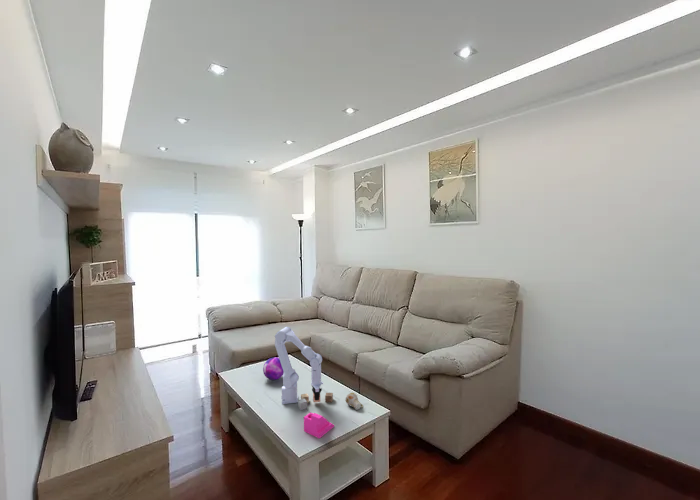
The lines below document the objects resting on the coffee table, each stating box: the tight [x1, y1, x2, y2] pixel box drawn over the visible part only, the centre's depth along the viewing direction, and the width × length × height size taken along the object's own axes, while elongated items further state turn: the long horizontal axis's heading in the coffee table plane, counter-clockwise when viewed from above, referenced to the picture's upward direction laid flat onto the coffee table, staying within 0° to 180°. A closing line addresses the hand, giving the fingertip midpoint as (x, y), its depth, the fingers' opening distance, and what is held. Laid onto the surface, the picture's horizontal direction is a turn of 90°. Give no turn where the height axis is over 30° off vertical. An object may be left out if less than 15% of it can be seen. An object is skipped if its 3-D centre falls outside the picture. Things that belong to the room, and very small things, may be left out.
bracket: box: [303, 411, 335, 439], centre depth 167 cm, size 12×10×10 cm
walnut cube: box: [324, 392, 334, 403], centre depth 195 cm, size 4×4×4 cm
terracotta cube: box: [312, 392, 321, 403], centre depth 191 cm, size 4×4×4 cm
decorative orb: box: [262, 356, 284, 381], centre depth 224 cm, size 15×15×15 cm
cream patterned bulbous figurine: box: [345, 392, 364, 411], centre depth 188 cm, size 8×10×10 cm
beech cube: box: [300, 392, 310, 404], centre depth 194 cm, size 4×4×4 cm
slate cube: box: [297, 398, 308, 411], centre depth 187 cm, size 4×4×4 cm
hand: (316, 397), depth 191 cm, fingers closed on terracotta cube, 4 cm apart
